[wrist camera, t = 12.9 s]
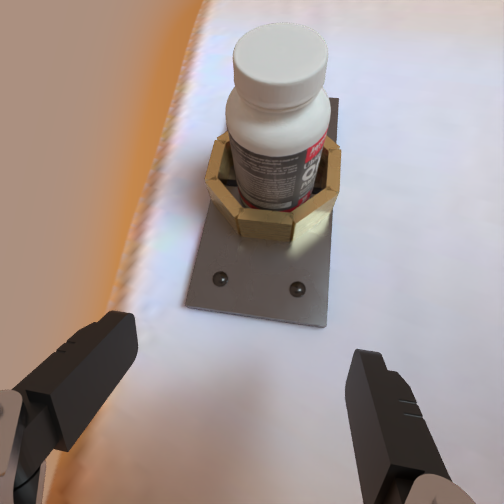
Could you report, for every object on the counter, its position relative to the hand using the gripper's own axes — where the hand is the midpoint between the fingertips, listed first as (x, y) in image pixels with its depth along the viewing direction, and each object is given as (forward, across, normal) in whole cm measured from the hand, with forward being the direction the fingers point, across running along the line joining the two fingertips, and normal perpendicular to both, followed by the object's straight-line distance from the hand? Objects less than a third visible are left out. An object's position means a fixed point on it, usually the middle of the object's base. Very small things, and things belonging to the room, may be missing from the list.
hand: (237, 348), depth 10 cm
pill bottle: (+13, 0, -3) cm, 14 cm away
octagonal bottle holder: (+14, 0, -3) cm, 14 cm away
